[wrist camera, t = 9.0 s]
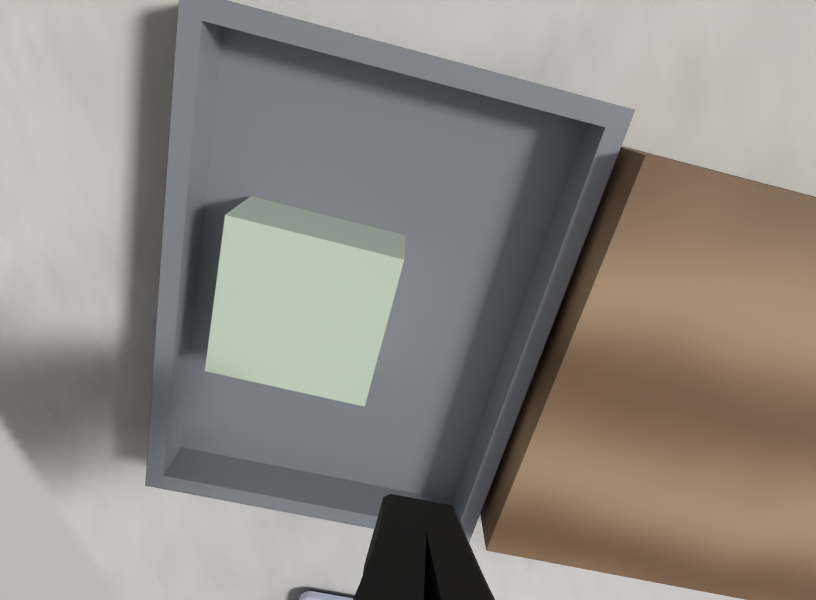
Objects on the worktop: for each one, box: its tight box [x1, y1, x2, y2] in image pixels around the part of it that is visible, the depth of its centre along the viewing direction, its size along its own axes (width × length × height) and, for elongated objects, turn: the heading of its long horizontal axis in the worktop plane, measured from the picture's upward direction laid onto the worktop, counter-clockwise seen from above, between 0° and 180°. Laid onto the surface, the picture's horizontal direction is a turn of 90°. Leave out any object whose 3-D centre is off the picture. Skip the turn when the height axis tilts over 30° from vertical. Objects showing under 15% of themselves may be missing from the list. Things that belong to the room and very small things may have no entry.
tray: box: [145, 0, 635, 542], centre depth 18 cm, size 16×12×2 cm
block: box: [205, 196, 405, 407], centre depth 17 cm, size 5×5×2 cm
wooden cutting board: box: [480, 146, 816, 600], centre depth 18 cm, size 14×14×3 cm
